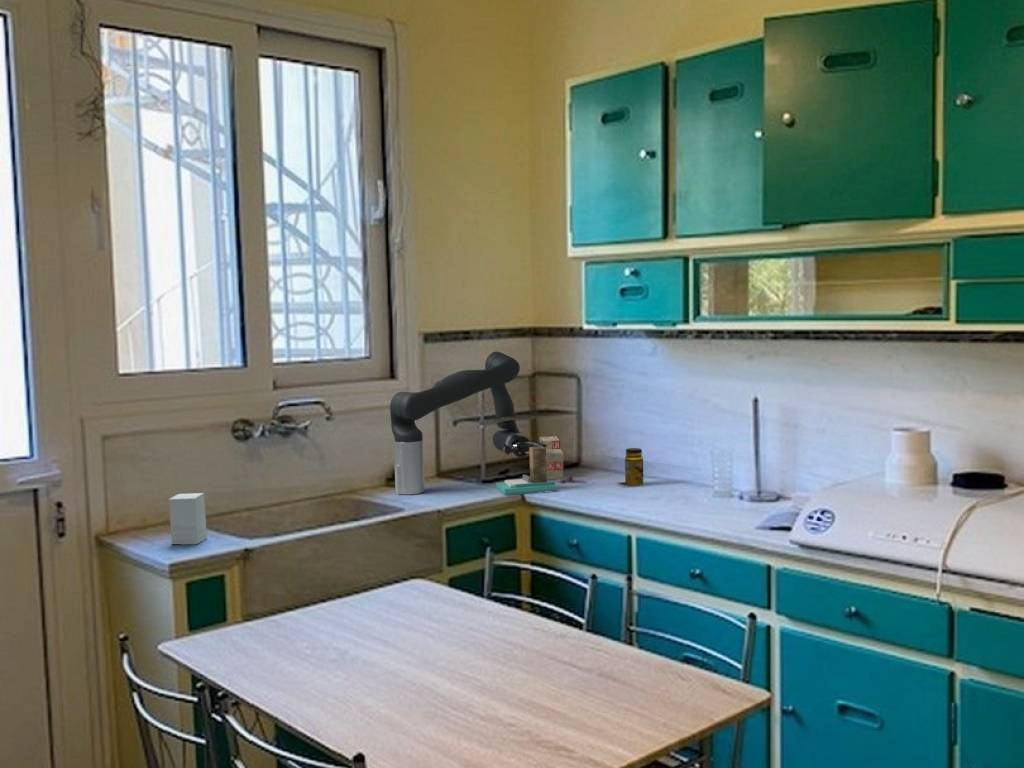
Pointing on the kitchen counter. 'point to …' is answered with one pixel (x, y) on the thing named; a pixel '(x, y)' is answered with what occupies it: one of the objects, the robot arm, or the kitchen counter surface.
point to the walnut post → (538, 464)
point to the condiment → (633, 468)
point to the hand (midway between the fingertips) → (529, 451)
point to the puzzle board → (526, 488)
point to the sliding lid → (519, 481)
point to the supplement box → (187, 518)
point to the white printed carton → (553, 457)
